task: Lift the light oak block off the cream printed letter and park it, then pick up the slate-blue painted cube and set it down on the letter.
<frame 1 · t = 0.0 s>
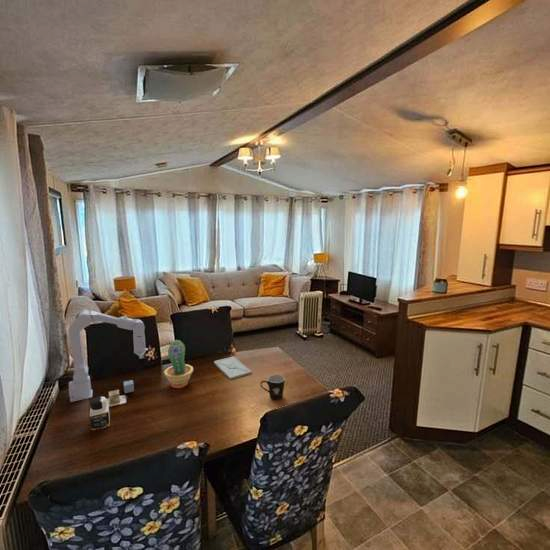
hand: (141, 366, 175), 10 cm above the table, fingers open, 7 cm apart
letter: (114, 401, 159), on the table
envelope: (232, 369, 194), on the table
potted cactus: (179, 384, 176), on the table
oak block: (114, 401, 159), resting on letter
slate cube: (129, 390, 169), on the table
medicine bottle: (100, 424, 141), on the table
coffee mug: (273, 396, 164), on the table
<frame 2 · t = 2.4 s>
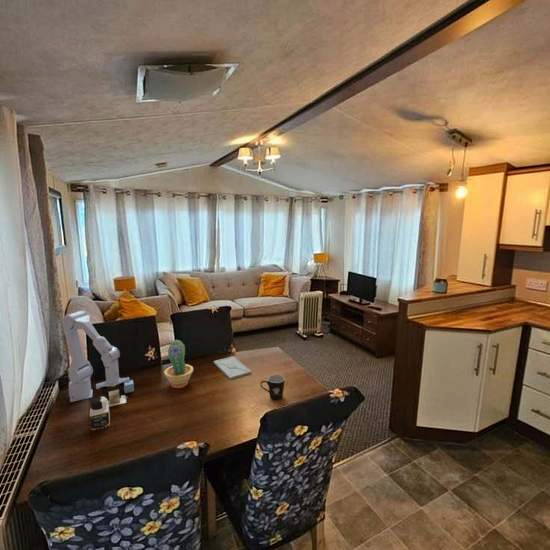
hand: (114, 398, 159), 2 cm above the table, fingers closed on oak block, 4 cm apart
oak block: (114, 401, 159), resting on letter, touching gripper
everything else where it was.
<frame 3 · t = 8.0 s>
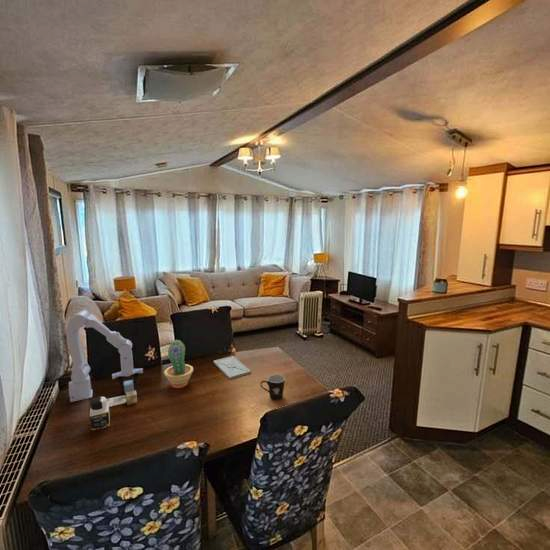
hand: (128, 388, 169), 1 cm above the table, fingers closed on slate cube, 4 cm apart
oak block: (132, 401, 159), on the table
slate cube: (129, 390, 169), on the table, touching gripper
everything else where it was.
when the fingers open (3 cm above the table, at t = 11.2 s): slate cube stays where it is, resting on letter.
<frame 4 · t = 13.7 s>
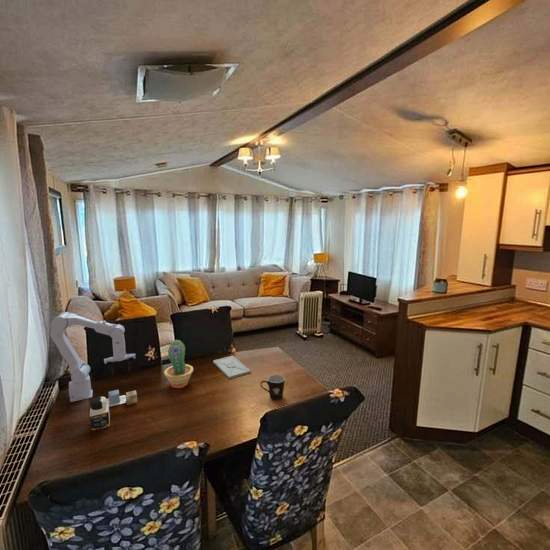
hand: (121, 373, 167), 10 cm above the table, fingers open, 7 cm apart
slate cube: (114, 401, 159), resting on letter
at the end: slate cube inside the target area on the letter (0.1 cm from its centre), point 0.2 cm above the letter's base; slate cube tilted 0°; oak block inside the target area (1.8 cm from its centre), on the table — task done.
